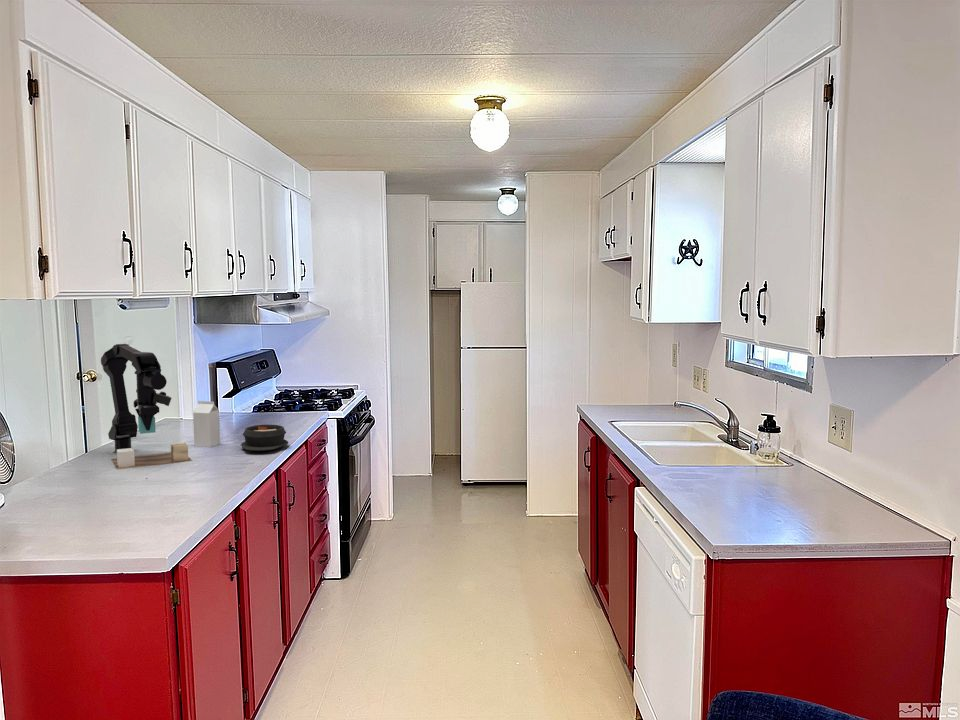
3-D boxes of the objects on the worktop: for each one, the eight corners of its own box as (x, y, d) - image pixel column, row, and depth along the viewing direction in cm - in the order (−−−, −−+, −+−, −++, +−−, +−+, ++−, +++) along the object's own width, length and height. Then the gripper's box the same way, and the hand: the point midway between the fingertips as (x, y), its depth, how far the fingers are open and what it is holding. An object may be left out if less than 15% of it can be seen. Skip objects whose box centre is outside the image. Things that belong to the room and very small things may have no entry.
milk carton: (210, 450, 285) (208, 403, 283) (194, 449, 286) (192, 402, 284) (220, 446, 292) (218, 400, 290) (204, 445, 293) (203, 399, 291)
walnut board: (111, 462, 264) (110, 458, 264) (183, 454, 278) (182, 451, 278) (116, 472, 249) (116, 469, 249) (192, 464, 263) (192, 460, 262)
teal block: (138, 431, 264) (138, 416, 263) (153, 429, 267) (152, 415, 266) (140, 433, 260) (140, 418, 259) (155, 432, 263) (155, 417, 262)
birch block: (171, 458, 265) (170, 444, 265) (185, 457, 268) (185, 442, 268) (173, 461, 261) (173, 446, 261) (188, 459, 264) (187, 445, 263)
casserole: (247, 441, 301) (247, 422, 301) (292, 441, 304) (292, 421, 303) (234, 455, 277) (233, 434, 276) (283, 454, 279) (283, 433, 278)
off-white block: (117, 464, 256) (116, 449, 255) (132, 462, 258) (132, 447, 258) (119, 467, 252) (118, 452, 251) (134, 465, 254) (134, 450, 254)
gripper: (173, 388, 258) (175, 431, 260) (164, 382, 274) (165, 422, 275) (140, 391, 252) (141, 434, 254) (132, 384, 268) (134, 425, 269)
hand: (146, 429), depth 263 cm, fingers closed on teal block, 5 cm apart
